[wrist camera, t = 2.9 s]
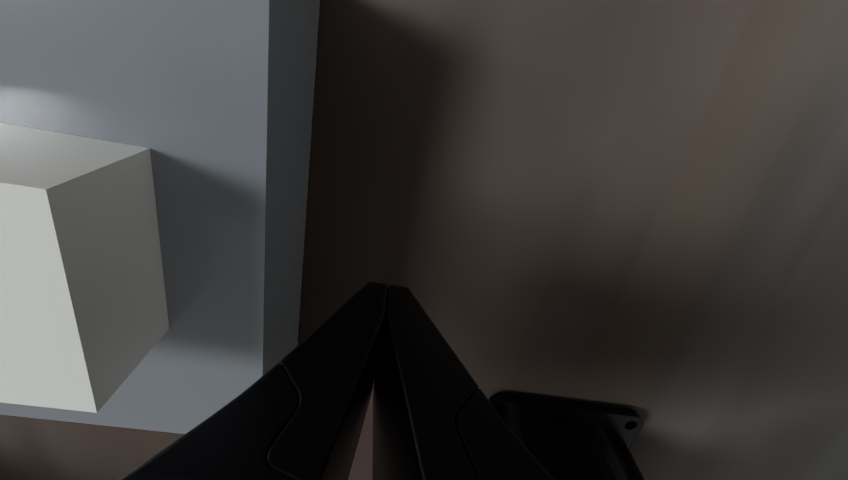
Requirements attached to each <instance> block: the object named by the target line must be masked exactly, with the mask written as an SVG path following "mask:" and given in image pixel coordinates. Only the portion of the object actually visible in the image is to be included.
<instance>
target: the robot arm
mask: <svg viewBox="0 0 848 480" xmlns="http://www.w3.org/2000/svg"><path fill="white" fill-rule="evenodd" d="M374 377H375V378H374ZM373 383H374V388H373ZM372 388H373V480H645V479H644V477H643V476H642V474H641V472H640V470H639V468H638V466H637V464H636V462H635V460H634V458H633V457H632V455H631V453H630V451H629V448H630V446H631V445H632V443H633V441H634V440H635V438H636V436H637V435H638V433H639V431H640V430H641V428H642V426H643V421H642V419H641V417H640V415H639V414H638V412H637V411H636V410H633V409H628V408H620V407H612V406H604V405H596V404H588V403H580V402H572V401H564V400H556V399H548V398H540V397H532V396H524V395H516V394H508V393H497V394H494V395H493V396H491V397H490V398H489V400H488V399H487V397H486V396H485V395H484V393H483V392H482V390H481V389H478V385H477V384H476V382H475V381H474V380H473V378H472V377H471V375H470V374H469V372H468V371H467V370H466V368H465V367H464V365H463V364H462V363H461V361H460V360H459V358H458V357H457V356H456V354H455V353H454V351H453V350H452V349H451V347H450V346H449V344H448V343H447V342H446V340H445V339H444V337H443V336H442V335H441V333H440V332H439V330H438V329H437V328H436V326H435V325H434V323H433V322H432V321H431V319H430V318H429V316H428V315H427V314H426V312H425V311H424V309H423V308H422V306H421V305H420V304H419V302H418V301H417V299H416V298H415V297H414V295H413V294H412V292H411V291H410V290H409V288H407V287H403V286H396V285H390V286H389V287H388V286H387V285H386V284H382V283H376V282H369V283H367V284H366V285H365V286H364V287H363V288H362V289H361V290H359V291H358V292H357V293H356V294H355V295H354V296H353V297H352V298H350V299H349V300H348V301H347V302H346V303H345V304H344V305H343V306H341V307H340V308H339V309H338V310H337V311H336V312H335V313H333V314H332V315H331V316H330V317H329V318H328V319H327V320H326V321H324V322H323V323H322V324H321V325H320V326H319V327H318V328H317V329H315V330H314V331H313V332H312V333H311V334H310V335H309V336H308V337H306V338H305V339H304V340H303V341H302V342H301V343H300V344H298V345H297V346H296V347H295V348H294V349H293V350H292V351H291V352H289V353H288V354H287V355H286V356H285V357H284V358H283V359H282V360H280V361H279V364H276V365H274V366H273V367H272V368H271V369H270V370H269V371H268V372H267V373H265V374H264V375H263V376H262V377H261V378H260V379H258V380H257V381H256V382H255V383H254V384H252V385H251V386H250V387H249V388H247V389H246V390H245V391H244V392H243V393H241V394H240V395H239V396H237V397H236V398H235V399H233V400H232V401H231V402H229V403H228V404H227V405H225V406H224V407H223V408H221V409H220V410H219V411H217V412H216V413H214V414H213V415H212V416H210V417H209V418H208V419H206V420H205V421H203V422H202V423H200V424H199V425H198V426H196V427H195V428H193V429H192V430H190V431H189V432H188V433H186V434H185V435H183V436H182V437H180V438H179V439H178V440H176V441H175V442H173V443H172V444H171V445H169V446H168V447H166V448H165V449H163V450H162V451H161V452H159V453H158V454H156V455H155V456H153V457H152V458H151V459H149V460H148V461H146V462H145V463H143V464H142V465H141V466H139V467H138V468H136V469H135V470H133V471H132V472H131V473H129V474H127V475H126V476H124V477H123V478H121V479H120V480H348V477H349V474H350V470H351V466H352V463H353V459H354V455H355V452H356V448H357V444H358V441H359V437H360V433H361V430H362V426H363V422H364V419H365V415H366V412H367V408H368V404H369V401H370V397H371V392H372ZM500 405H503V406H500Z"/></svg>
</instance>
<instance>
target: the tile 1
mask: <svg viewBox="0 0 848 480" xmlns="http://www.w3.org/2000/svg"><path fill="white" fill-rule="evenodd" d="M168 330H169V323H168V313H167V304H166V295H165V285H164V276H163V267H162V257H161V248H160V239H159V229H158V220H157V211H156V202H155V192H154V183H153V174H152V164H151V155H150V148H145V147H139V146H134V145H128V144H122V143H116V142H110V141H104V140H98V139H92V138H87V137H81V136H75V135H69V134H63V133H57V132H51V131H46V130H40V129H34V128H28V127H22V126H16V125H10V124H4V123H0V402H1V403H10V404H20V405H29V406H38V407H47V408H57V409H66V410H75V411H84V412H94V413H97V412H98V411H99V410H100V409H101V408H102V407H103V405H104V404H105V403H106V402H107V401H108V400H109V398H110V397H111V396H112V395H113V394H114V393H115V391H116V390H117V389H118V388H119V387H120V386H121V384H122V383H123V382H124V381H125V380H126V379H127V377H128V376H129V375H130V374H131V373H132V372H133V370H134V369H135V368H136V367H137V366H138V365H139V363H140V362H141V361H142V360H143V359H144V358H145V356H146V355H147V354H148V353H149V352H150V351H151V350H152V348H153V347H154V346H155V345H156V344H157V343H158V341H159V340H160V339H161V338H162V337H163V336H164V334H165V333H166V332H167V331H168Z"/></svg>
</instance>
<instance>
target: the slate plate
mask: <svg viewBox="0 0 848 480" xmlns="http://www.w3.org/2000/svg"><path fill="white" fill-rule="evenodd" d="M319 9H320V0H0V123H4V124H10V125H16V126H22V127H28V128H34V129H40V130H46V131H51V132H57V133H63V134H69V135H75V136H81V137H87V138H92V139H98V140H104V141H110V142H116V143H122V144H128V145H134V146H139V147H145V148H150V155H151V164H152V174H153V183H154V192H155V202H156V211H157V220H158V229H159V239H160V248H161V257H162V267H163V276H164V285H165V295H166V304H167V313H168V323H169V330H168V331H167V332H166V333H165V334H164V336H163V337H162V338H161V339H160V340H159V341H158V343H157V344H156V345H155V346H154V347H153V348H152V350H151V351H150V352H149V353H148V354H147V355H146V356H145V358H144V359H143V360H142V361H141V362H140V363H139V365H138V366H137V367H136V368H135V369H134V370H133V372H132V373H131V374H130V375H129V376H128V377H127V379H126V380H125V381H124V382H123V383H122V384H121V386H120V387H119V388H118V389H117V390H116V391H115V393H114V394H113V395H112V396H111V397H110V398H109V400H108V401H107V402H106V403H105V404H104V405H103V407H102V408H101V409H100V410H99V411H98V412H97V413H94V412H84V411H75V410H66V409H57V408H47V407H38V406H29V405H20V404H10V403H1V402H0V414H1V415H10V416H20V417H29V418H39V419H48V420H58V421H67V422H76V423H86V424H95V425H105V426H114V427H124V428H133V429H143V430H152V431H162V432H171V433H181V434H186V433H188V432H189V431H190V430H192V429H193V428H195V427H196V426H198V425H199V424H200V423H202V422H203V421H205V420H206V419H208V418H209V417H210V416H212V415H213V414H214V413H216V412H217V411H219V410H220V409H221V408H223V407H224V406H225V405H227V404H228V403H229V402H231V401H232V400H233V399H235V398H236V397H237V396H239V395H240V394H241V393H243V392H244V391H245V390H246V389H247V388H249V387H250V386H251V385H252V384H254V383H255V382H256V381H257V380H258V379H260V378H261V377H262V376H263V375H264V374H265V373H267V372H268V371H269V370H270V369H271V368H272V367H273V366H274V365H276V364H279V361H280V360H282V359H283V358H284V357H285V356H286V355H287V354H288V353H289V352H291V351H292V350H293V349H294V348H295V347H296V346H297V345H298V332H299V316H300V301H301V286H302V270H303V255H304V240H305V224H306V209H307V193H308V178H309V163H310V147H311V132H312V117H313V101H314V86H315V70H316V55H317V40H318V24H319Z"/></svg>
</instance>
